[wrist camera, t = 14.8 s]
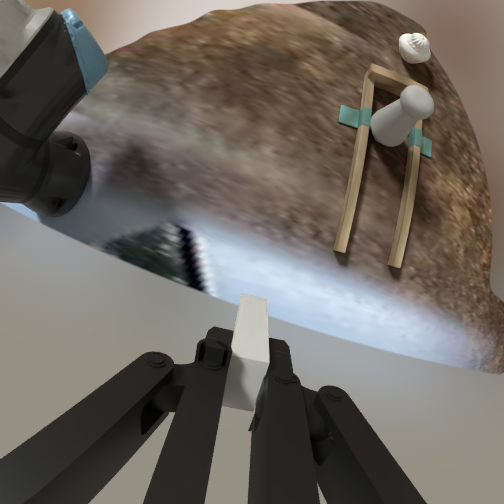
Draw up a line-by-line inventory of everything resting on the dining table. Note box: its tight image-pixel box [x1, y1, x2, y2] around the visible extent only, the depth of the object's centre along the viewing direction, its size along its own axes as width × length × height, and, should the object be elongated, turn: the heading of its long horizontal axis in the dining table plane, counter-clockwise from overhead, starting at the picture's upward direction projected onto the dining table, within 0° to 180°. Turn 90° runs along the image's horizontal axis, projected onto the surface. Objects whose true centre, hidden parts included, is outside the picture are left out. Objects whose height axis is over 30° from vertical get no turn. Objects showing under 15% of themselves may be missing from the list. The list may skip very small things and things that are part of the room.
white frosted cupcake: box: [399, 33, 430, 64], centre depth 31 cm, size 6×6×7 cm
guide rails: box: [333, 64, 432, 268], centre depth 35 cm, size 16×29×4 cm, turn 166°
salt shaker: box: [370, 85, 434, 147], centre depth 30 cm, size 6×6×13 cm
